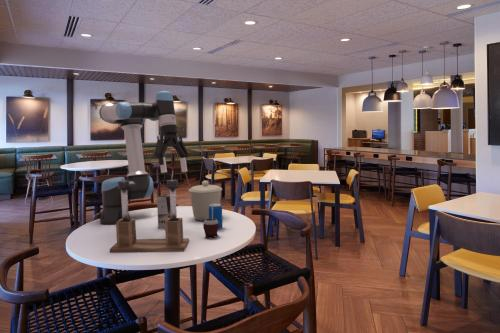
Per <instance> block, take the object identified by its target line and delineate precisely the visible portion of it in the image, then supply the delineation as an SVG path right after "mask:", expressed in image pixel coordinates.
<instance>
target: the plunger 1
mask: <svg viewBox="0 0 500 333" xmlns="http://www.w3.org/2000/svg"><path fill="white" fill-rule="evenodd" d="M129 188H130V186H129V181H118V189H121V200H122V217H123V222H129V215H130V214H129V215H128V212H129V200H128V196H127V189H129Z"/></svg>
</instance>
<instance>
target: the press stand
mask: <svg viewBox="0 0 500 333" xmlns="http://www.w3.org/2000/svg"><path fill="white" fill-rule="evenodd" d="M183 222H184V221H183V217H177V221H171V218H168V219H167V220H166V221H165V229H164V230H165V231H164V232H165V238H143V239H142V238H138V239H137V226H136V225H137V224H136V218H130V219H129V222H123V219H120V220H119V221H117V222H116V224H115V229H116V233H115V234H116V243H115V244H113V245H112V246H111V247H110V248H109V253H110V254H111V253H112V254H113V253H155V252H156V253H157V252H158V253H159V252H161V253H162V252H163V253H164V252H185V250H186V249H187V246H188V244H190V243H189V242H190V238H188V237H187V238H186V237H185V238H184V226H183V225H184V224H183Z"/></svg>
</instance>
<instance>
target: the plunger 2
mask: <svg viewBox="0 0 500 333" xmlns="http://www.w3.org/2000/svg"><path fill="white" fill-rule="evenodd" d="M166 188H167V189H169V194H170V210H171V221H177V218H178V216H177V215H178V214H177V193H176V192H177V191H176V189H178V188H179V180H178V179H167V180H166Z"/></svg>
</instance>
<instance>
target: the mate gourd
mask: <svg viewBox="0 0 500 333" xmlns="http://www.w3.org/2000/svg"><path fill="white" fill-rule="evenodd" d="M213 203H214V202H212V218H209V219H206V220H205V221H203V225H202V226H203V231H204V236H205V237H204V238H205V239H209V238H212V239H216V237H217V236H218V231H219V230H218V229H219V223H218V221H217V219H215V218H213Z"/></svg>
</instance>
